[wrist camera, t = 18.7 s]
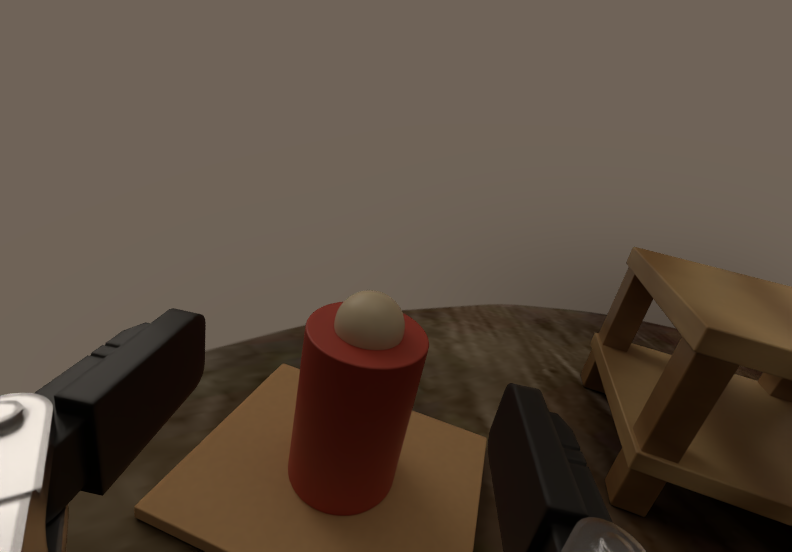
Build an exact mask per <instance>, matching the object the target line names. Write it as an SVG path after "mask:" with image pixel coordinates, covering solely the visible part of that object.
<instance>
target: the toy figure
mask: <svg viewBox="0 0 792 552" xmlns="http://www.w3.org/2000/svg"><path fill="white" fill-rule="evenodd" d="M428 348H429V341H428V337H427V335H426V333H425V331H424V329H423V328H422V327H421V326H420V325H419V324H418V323H417V322H416V321H414V320H413V319H412V318H410V317H409V316H407V315H405V314H403V313H402V311H401V308H400V307H399V306H398V304H397V303H396V302H395V301H394V300H393V299H392V298H391V297H389V296H388V295H386V294H384V293H381V292H379V291H373V290H366V291H361V292H358V293H355V294H353V295H351V296H350V297H348V298H347V299H346V300H345V301H344V302H338V303H333V304H329V305H326V306H323V307H321V308H319V309H317V310H316V311H315V312H313V313H312V314H311V315H310V317H309V318H308V320H307V323H306V327H305V335H304V342H303V350H302V358H301V366H300V374H299V382H298V390H297V398H296V406H295V414H294V422H293V429H292V437H291V445H290V453H289V461H288V476H289V480H290V483H291V485H292V487H293V489H294V491H295V492H296V494H297V495H298V496H299V497H300V498H301V499H302V500H303V501H304V502H305V503H306V504H308V505H309V506H311V507H312V508H314V509H316V510H318V511H321V512H324V513H327V514H331V515H339V516H349V515H355V514H359V513H363V512H365V511H368V510H370V509H371V508H373V507H375V506H376V505H377V504H379V503H380V502H381V501H382V500H383V499H384V498H385V497H386V495H387V494H388V492H389V491H390V489H391V486H392V483H393V480H394V476H395V472H396V468H397V465H398V461H399V457H400V453H401V450H402V446H403V442H404V438H405V435H406V431H407V427H408V423H409V420H410V416H411V412H412V408H413V405H414V401H415V397H416V393H417V390H418V386H419V382H420V378H421V375H422V371H423V367H424V363H425V360H426V356H427V352H428Z"/></svg>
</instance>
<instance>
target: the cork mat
mask: <svg viewBox="0 0 792 552" xmlns="http://www.w3.org/2000/svg"><path fill="white" fill-rule="evenodd" d="M299 374H300V369H297V368H295V367H292V366H289V365H286V364H282V365H281V366H280V367H279V368H278V369H277V370H276V371H275V372H274V373H272V374H271V375H270V376H269V377H268V378H267V379H266V380H265V381H264V382H263V383H262V384H261V385H260V386H259V387H258V388H257V389H256V390H255V391H254V392H253V393H252V394H251V395H250V396H249V397H248V398H246V399H245V400H244V401H243V402H242V403H241V404H240V405H239V406H238V407H237V408H236V409H235V410H234V411H233V412H232V413H231V414H230V415H229V416H228V417H227V418H226V419H225V420H224V421H223V422H222V423H220V424H219V425H218V426H217V427H216V428H215V429H214V430H213V431H212V432H211V433H210V434H209V435H208V436H207V437H206V438H205V439H204V440H203V441H202V442H201V443H200V444H199V445H198V446H197V447H196V448H195V449H193V450H192V451H191V452H190V453H189V454H188V455H187V456H186V457H185V458H184V459H183V460H182V461H181V462H180V463H179V464H178V465H177V466H176V467H175V468H174V469H173V470H172V471H171V472H170V473H169V474H167V475H166V476H165V477H164V478H163V479H162V480H161V481H160V482H159V483H158V484H157V485H156V486H155V487H154V488H153V489H152V490H151V491H150V492H149V493H148V494H147V495H146V496H145V497H144V498H143V499H142V500H140V501H139V502H138V503H137V504H136V505H135V507H134V511H135V517H136V518H137V519H139V520H141V521H144V522H146V523H148V524H150V525H152V526H154V527H156V528H158V529H160V530H162V531H164V532H166V533H168V534H170V535H172V536H174V537H176V538H178V539H180V540H182V541H184V542H187V543H189V544H191V545H193V546H195V547H197V548H199V549H201V550H203V551H205V552H473V548H474V539H475V531H476V523H477V515H478V507H479V499H480V491H481V483H482V475H483V467H484V458H485V450H486V442H487V438H486V437H483V436H480V435H477V434H475V433H472V432H469V431H467V430H464V429H461V428H458V427H456V426H453V425H450V424H447V423H445V422H442V421H439V420H437V419H434V418H431V417H428V416H426V415H423V414H420V413H417V412H415V411H412V412H411V416H410V420H409V423H408V427H407V431H406V435H405V438H404V442H403V446H402V450H401V453H400V457H399V461H398V465H397V468H396V472H395V476H394V480H393V483H392V486H391V489H390V491H389V492H388V494H387V495H386V497H385V498H384V499H383V500H382V501H381V502H380V503H379V504H377V505H376V506H375V507H373V508H371V509H370V510H368V511H365V512H363V513H359V514H355V515H349V516H339V515H331V514H327V513H324V512H321V511H318V510H316V509H314V508H312V507H311V506H309V505H308V504H306V503H305V502H304V501H303V500H302V499H301V498H300V497H299V496H298V495H297V494H296V492H295V491H294V489H293V487H292V485H291V483H290V480H289V476H288V461H289V453H290V445H291V437H292V429H293V422H294V414H295V406H296V398H297V390H298V382H299Z"/></svg>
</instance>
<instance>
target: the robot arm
mask: <svg viewBox="0 0 792 552" xmlns="http://www.w3.org/2000/svg"><path fill="white" fill-rule="evenodd" d="M204 364H205V318H204V316H203V315H201V314H197V313H192V312H188V311H183V310H178V309H169V310H168V311H166V312H165V313H164V314H162V315H161V316H160V317H158V318H157V319H156V320H154V321H153V322H152V323H143V324H140V325H137V326H135V327H132V328H129V329H127V330H124V331H122V332H120V333H119V334H118V335H116V336H115V337H114V338H112V339H111V340H109V341H108V342H106V344H105V346H104V345H102V346H100V347H99V348H98V349H96V350H95V351H93V352H92V353H91V355H90V356H86V357H85V358H84V359H82V360H81V361H79V362H78V363H76V364H75V365H73V366H72V367H71V368H69V369H68V370H66V371H65V372H63V373H62V374H61V375H59V376H58V377H56V378H55V379H53V380H52V381H51V382H49V383H48V384H46V385H45V386H43V387H42V388H41V389H39V390H38V391H36V392H35V393H13V394H6V395H1V396H0V552H66V544H67V532H68V519H69V507H68V503H69V502H70V501H71V500H72V499H73V498H74V497H75V496H76V494H77V493H78V492H79V491H84V492H89V493H93V494H98V495H102V496H103V495H104V494H105V492H106V491H107V490H108V489H109V488H110V487H111V485H112V484H113V483H114V482H115V481H116V480H117V478H118V477H119V476H120V475H121V474H122V473H123V472H124V470H125V469H126V468H127V467H128V466H129V465H130V463H131V462H132V461H133V460H134V459H135V458H136V456H137V455H138V454H139V453H140V452H141V451H142V450H143V448H144V447H145V446H146V445H147V444H148V443H149V441H150V440H151V439H152V438H153V437H154V436H155V435H156V433H157V432H158V431H159V430H160V429H161V428H162V426H163V425H164V424H165V423H166V422H167V421H168V419H169V418H170V417H171V416H172V415H173V414H174V413H175V411H176V410H177V409H178V408H179V407H180V406H181V404H182V403H183V402H184V401H185V400H186V399H187V398H188V396H189V395H190V394H191V393H192V392H193V391H194V389H195V388H196V387H197V385H198V383H199V382H200V379H201V377H202V374H203V371H204ZM488 457H489V463H490V469H491V476H492V482H493V488H494V494H495V501H496V507H497V513H498V520H499V526H500V532H501V538H502V545H503V551H504V552H646V551H645V549H644V548H643V547H642V546H641V545H640V544H639V542H638V541H637V540H636V539H635V538H633V537H632V536H631V535H630V534H629V533H628V532H626V531H625V530H624V529H622V528H620V527H619V526H617V525H615V524H614V523H613V522H612V520H611V518H610V515H609V513H608V511H607V509H606V506H605V504H604V502H603V499H602V497H601V495H600V493H599V490H598V488H597V486H596V483H595V481H594V479H593V476H592V474H591V472H590V470H589V467H586V460H585V458H584V456H583V454H582V452H580V447H579V444H578V442H577V440H576V438H575V435H574V433H573V431H572V429H571V428H570V427H569V426H568V425H567V424H566V423H565V422H564V420H563V419H562V418H561V417H560V416H559V415H558V414H556V413H551V412H549V411H548V408H547V405H546V403H545V400H544V398H543V395H542V393H541V391H540V390H539V389H535V388H531V387H526V386H521V385H517V384H512V383H510V384H508V385H507V387H506V389H505V391H504V394H503V397H502V399H501V402H500V405H499V407H498V410H497V413H496V416H495V418H494V421H493V424H492V426H491V429H490V433H489V439H488Z"/></svg>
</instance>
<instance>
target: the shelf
mask: <svg viewBox="0 0 792 552" xmlns="http://www.w3.org/2000/svg"><path fill="white" fill-rule="evenodd" d="M626 263H627V265H628V266H629V268H628V270H627V272H626V275H625V277H624V279H623V281H622V283H621V286H620V288H619V290H618V293H617V295H616V297H615V299H614V301H613V303H612V306H611V308H610V310H609V312H608V315H607V317H606V319H605V321H604V323H603V326H602V328H601V330H600V332H599V333H595V334H594V336H593V338H592V341H591V343H590V344H591V348H592V350H591V352H590V355H589V357H588V359H587V361H586V364H585V366H584V368H583V370H582V372H581V378H582V383H583V386H584V387H586V388H590V389H593V390H596V391H599V392H602V393H605V394H606V397H607V400H608V403H609V406H610V410H611V413H612V416H613V419H614V423H615V426H616V429H617V432H618V436H619V439H620V442H621V446H622V448H621V450H620V452H619V454H618V456H617V458H616V459H615V461H614V463H613V465H612V467H611V469H610V471H609V472H608V474H607V476H606V478H605V483H606V488H607V492H608V496H609V501H610V504H611V505H613V506H616V507H618V508H621V509H624V510H626V511H629V512H632V513H634V514H637V515H640V516H642V517H645V516H646V514H647V513H648V511H649V510H650V508H651V506H652V505H653V503H654V502H655V500H656V498H657V497H658V495H659V494H660V492H661V490H662V489H663V487H664V486H665V484H666V483H667V482H669V483H672V484H675V485H677V486H680V487H683V488H686V489H689V490H691V491H694V492H697V493H700V494H703V495H705V496H708V497H711V498H714V499H717V500H719V501H722V502H725V503H728V504H731V505H733V506H736V507H739V508H742V509H745V510H748V511H750V512H753V513H756V514H759V515H762V516H764V517H767V518H770V519H773V520H776V521H778V522H781V523H784V524H787V525H790V526H792V287H790V286H786V285H782V284H778V283H774V282H770V281H766V280H762V279H759V278H755V277H750V276H747V275H743V274H739V273H735V272H731V271H727V270H723V269H719V268H715V267H711V266H708V265H704V264H700V263H696V262H692V261H688V260H684V259H680V258H676V257H672V256H668V255H664V254H661V253H657V252H653V251H649V250H645V249H640V248H637V247H633V249H632V251H631V253H630V255H629V258H628V260H627V262H626ZM653 299H654V300H655V301H656V303H657V304H658V305H659V307H660V308H661V309H662V311H663V312H664V313H665V314H666V316H667V317H668V318H669V320H670V321H671V322H672V324H673V325H674V326H675V328H676V329H677V330H678V331H679V333H680V334H681V335H682V338H681V340H680V341H679V343H678V345H677V347H676V349H675V351H674V352H673V354H672V355H669V354H666V353H662V352H659V351H656V350H652V349H649V348H646V347H642V346H639V345H636V344H632V341H633V339H634V337H635V335H636V333H637V331H638V329H639V327H640V325H641V323H642V321H643V319H644V317H645V315H646V313H647V310H648V308H649V306H650V304H651V302H652V300H653ZM739 365H740V366H744V367H747V368H750V369H754V370H757V371H761V372H763V374H762V375H761V377H760V379H759V380H758V381H756V380H753V379H749V378H746V377H742V376H739V375H736V374H735V372H736V371H737V369H738V367H739Z"/></svg>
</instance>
